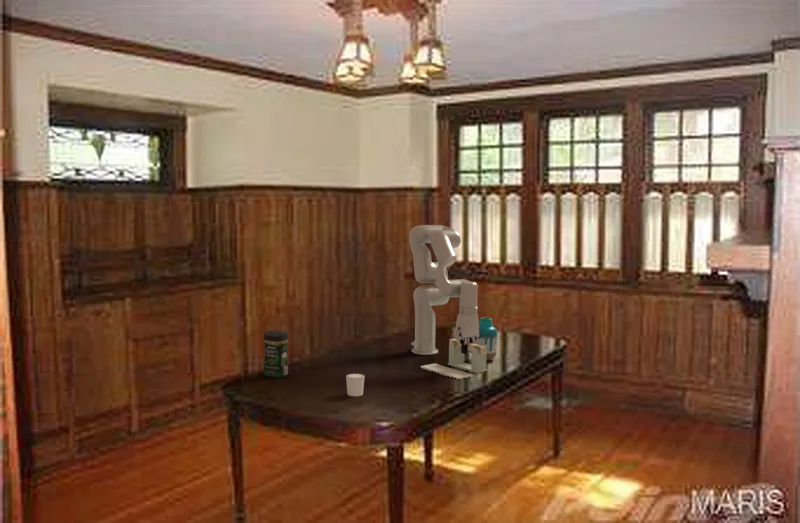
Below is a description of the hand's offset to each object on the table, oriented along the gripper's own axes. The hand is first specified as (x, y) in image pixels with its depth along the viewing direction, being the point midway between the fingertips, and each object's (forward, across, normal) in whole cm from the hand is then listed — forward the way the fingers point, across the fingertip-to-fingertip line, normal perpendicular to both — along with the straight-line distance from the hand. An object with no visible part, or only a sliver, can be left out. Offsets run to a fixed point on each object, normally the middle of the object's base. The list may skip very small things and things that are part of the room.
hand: (467, 352), depth 296 cm
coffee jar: (+7, +72, -37) cm, 81 cm away
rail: (-1, 0, 0) cm, 1 cm away
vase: (+7, -17, -6) cm, 19 cm away
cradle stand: (+7, 0, 0) cm, 7 cm away
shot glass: (+7, +61, +4) cm, 62 cm away
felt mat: (+7, +12, 0) cm, 14 cm away
